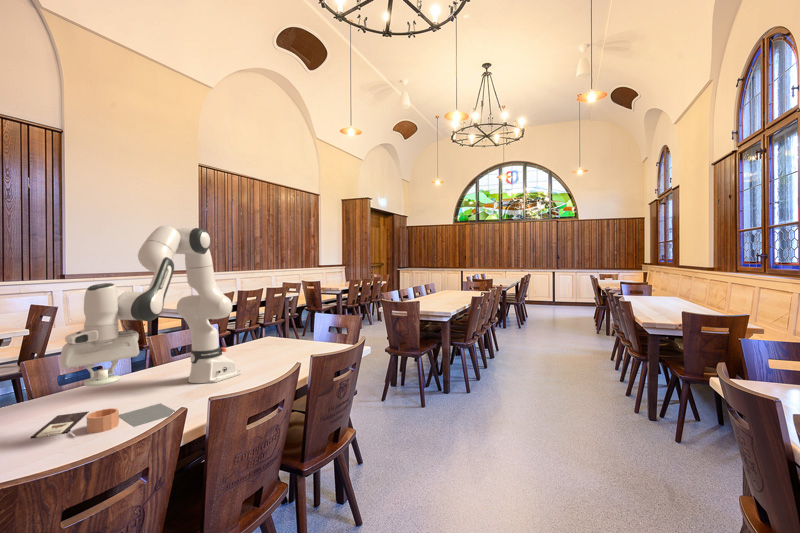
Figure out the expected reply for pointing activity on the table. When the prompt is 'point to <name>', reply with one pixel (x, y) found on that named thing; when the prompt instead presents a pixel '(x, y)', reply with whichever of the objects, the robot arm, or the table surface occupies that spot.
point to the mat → (146, 414)
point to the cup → (102, 420)
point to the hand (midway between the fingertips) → (102, 375)
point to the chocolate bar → (60, 424)
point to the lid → (102, 378)
